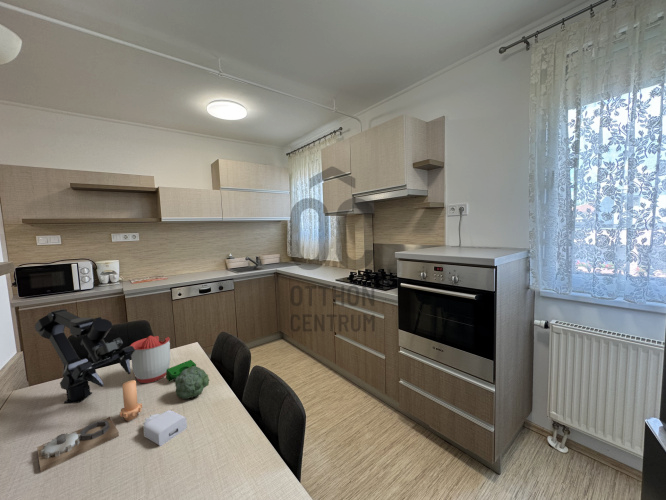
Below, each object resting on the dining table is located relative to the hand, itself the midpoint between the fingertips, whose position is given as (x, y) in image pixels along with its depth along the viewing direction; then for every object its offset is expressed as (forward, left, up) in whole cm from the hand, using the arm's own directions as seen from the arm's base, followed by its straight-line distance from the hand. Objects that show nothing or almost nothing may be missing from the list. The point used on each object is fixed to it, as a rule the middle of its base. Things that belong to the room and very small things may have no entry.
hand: (116, 379), depth 104 cm
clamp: (+12, +24, -13) cm, 30 cm away
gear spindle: (+6, -3, -13) cm, 15 cm away
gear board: (-3, -15, -13) cm, 20 cm away
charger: (+21, -11, -14) cm, 27 cm away
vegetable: (+23, +10, -13) cm, 28 cm away
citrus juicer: (-2, +27, -13) cm, 30 cm away
